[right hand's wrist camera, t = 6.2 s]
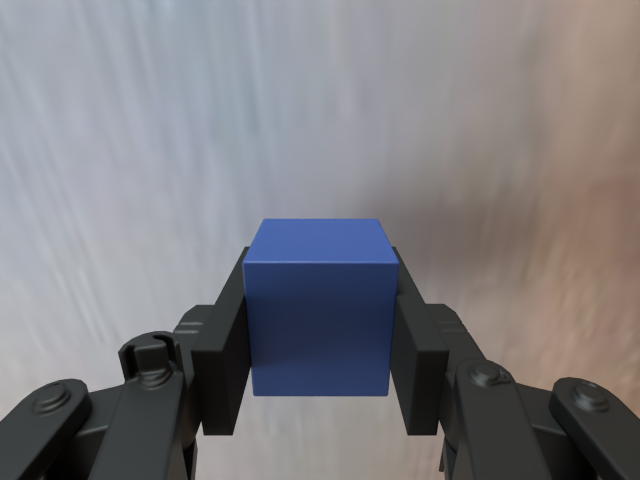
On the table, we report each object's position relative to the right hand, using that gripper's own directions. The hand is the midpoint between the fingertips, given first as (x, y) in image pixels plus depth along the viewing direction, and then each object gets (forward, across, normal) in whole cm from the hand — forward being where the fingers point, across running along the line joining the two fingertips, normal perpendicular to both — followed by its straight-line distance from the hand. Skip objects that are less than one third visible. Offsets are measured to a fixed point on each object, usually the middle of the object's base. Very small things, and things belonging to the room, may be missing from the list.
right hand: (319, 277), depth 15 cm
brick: (0, 0, 0) cm, 0 cm away
